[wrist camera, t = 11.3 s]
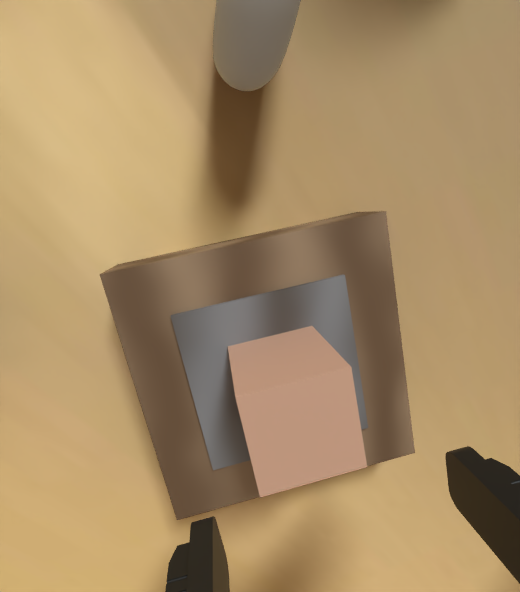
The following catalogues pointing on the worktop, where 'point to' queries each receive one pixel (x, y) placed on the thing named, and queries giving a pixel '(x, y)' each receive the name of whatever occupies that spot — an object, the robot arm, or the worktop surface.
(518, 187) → the worktop surface
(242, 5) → the donut
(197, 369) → the walnut base
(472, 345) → the worktop surface
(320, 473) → the terracotta block
